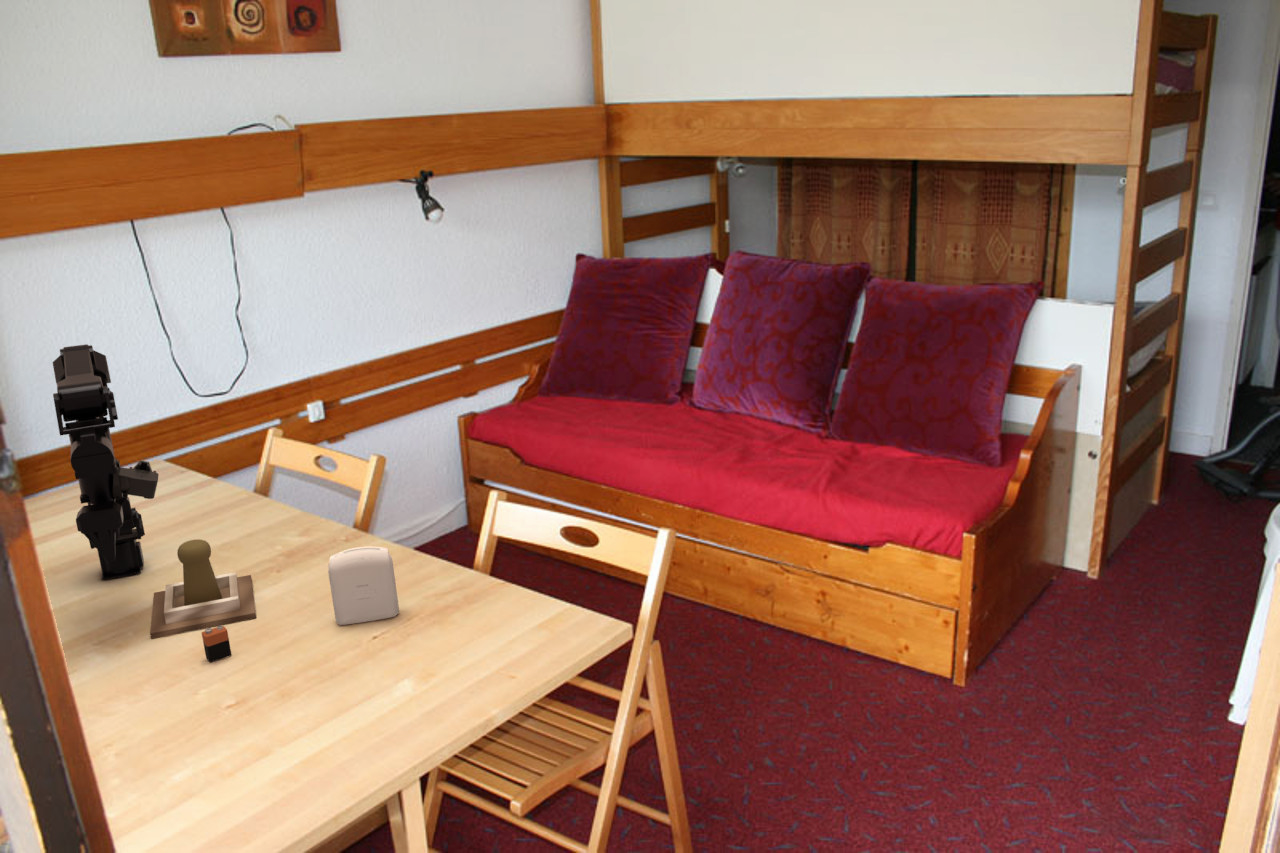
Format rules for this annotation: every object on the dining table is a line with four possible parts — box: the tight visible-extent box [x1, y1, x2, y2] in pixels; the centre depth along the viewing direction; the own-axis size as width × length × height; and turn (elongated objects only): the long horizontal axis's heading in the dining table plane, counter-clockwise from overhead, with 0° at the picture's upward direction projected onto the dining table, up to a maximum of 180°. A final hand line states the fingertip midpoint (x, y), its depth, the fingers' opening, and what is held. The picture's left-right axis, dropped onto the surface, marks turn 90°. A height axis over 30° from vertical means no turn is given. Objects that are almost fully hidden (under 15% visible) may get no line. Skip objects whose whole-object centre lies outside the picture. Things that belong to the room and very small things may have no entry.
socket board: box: [149, 571, 257, 640], centre depth 178 cm, size 16×16×3 cm
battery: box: [201, 625, 232, 663], centre depth 162 cm, size 2×3×5 cm, turn 129°
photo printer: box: [328, 546, 400, 626], centre depth 171 cm, size 10×4×12 cm, turn 104°
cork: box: [176, 539, 222, 606], centre depth 177 cm, size 6×6×11 cm
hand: (113, 550), depth 171 cm, fingers open, 9 cm apart
